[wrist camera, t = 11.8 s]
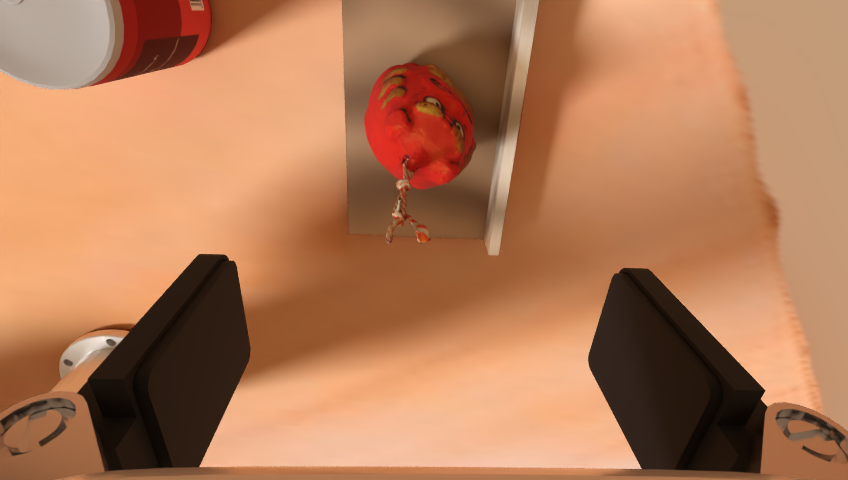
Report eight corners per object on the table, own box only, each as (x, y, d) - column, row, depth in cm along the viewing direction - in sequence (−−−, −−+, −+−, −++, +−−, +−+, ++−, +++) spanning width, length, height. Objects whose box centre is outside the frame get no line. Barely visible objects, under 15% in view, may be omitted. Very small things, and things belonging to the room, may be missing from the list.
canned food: (107, -101, 26) (-80, -170, 16) (234, -15, 28) (138, -30, 18) (77, 19, 29) (-97, 22, 19) (194, 88, 31) (92, 122, 21)
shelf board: (492, 233, 37) (500, 255, 33) (350, 227, 36) (344, 249, 33) (533, -44, 27) (550, -52, 24) (342, -58, 27) (332, -68, 23)
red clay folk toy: (490, 111, 31) (547, 186, 18) (427, 182, 33) (435, 295, 20) (408, 36, 28) (402, 57, 15) (346, 119, 31) (295, 199, 18)
